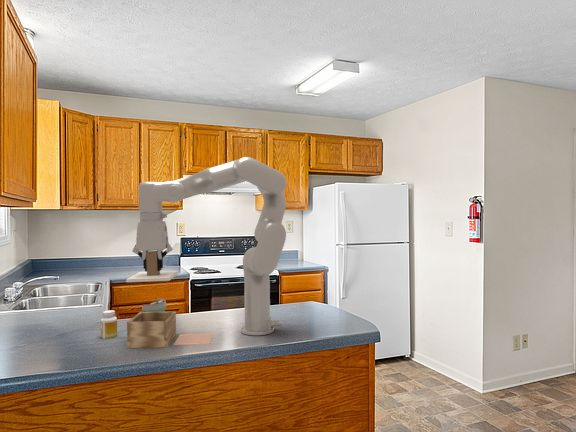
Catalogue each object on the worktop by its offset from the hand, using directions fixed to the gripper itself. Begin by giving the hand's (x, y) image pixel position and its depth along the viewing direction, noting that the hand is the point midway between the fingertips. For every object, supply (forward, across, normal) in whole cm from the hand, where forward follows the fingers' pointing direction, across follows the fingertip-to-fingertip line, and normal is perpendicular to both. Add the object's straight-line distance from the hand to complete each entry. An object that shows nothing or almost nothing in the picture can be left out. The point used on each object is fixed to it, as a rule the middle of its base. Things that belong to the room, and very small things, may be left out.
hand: (153, 270), depth 150 cm
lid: (+3, 0, 0) cm, 3 cm away
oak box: (+25, +1, 0) cm, 25 cm away
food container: (+25, +4, -19) cm, 32 cm away
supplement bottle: (+25, +18, -6) cm, 31 cm away
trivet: (+25, -13, -1) cm, 29 cm away
